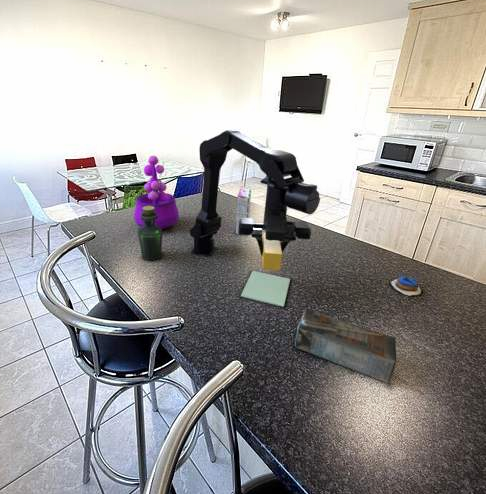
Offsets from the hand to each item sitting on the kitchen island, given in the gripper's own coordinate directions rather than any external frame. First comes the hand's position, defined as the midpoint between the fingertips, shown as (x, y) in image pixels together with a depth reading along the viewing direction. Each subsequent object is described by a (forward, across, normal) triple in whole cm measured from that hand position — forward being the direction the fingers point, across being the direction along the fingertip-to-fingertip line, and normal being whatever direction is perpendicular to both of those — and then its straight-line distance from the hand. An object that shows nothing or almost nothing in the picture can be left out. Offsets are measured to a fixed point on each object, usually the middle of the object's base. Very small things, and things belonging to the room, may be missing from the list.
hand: (270, 255), depth 82 cm
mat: (+11, 0, 0) cm, 11 cm away
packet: (+1, 0, 0) cm, 1 cm away
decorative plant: (+11, -46, +38) cm, 61 cm away
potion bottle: (+11, -39, +12) cm, 43 cm away
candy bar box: (+11, -9, +41) cm, 44 cm away
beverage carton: (+11, +16, -22) cm, 29 cm away
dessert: (+11, +42, +7) cm, 44 cm away
